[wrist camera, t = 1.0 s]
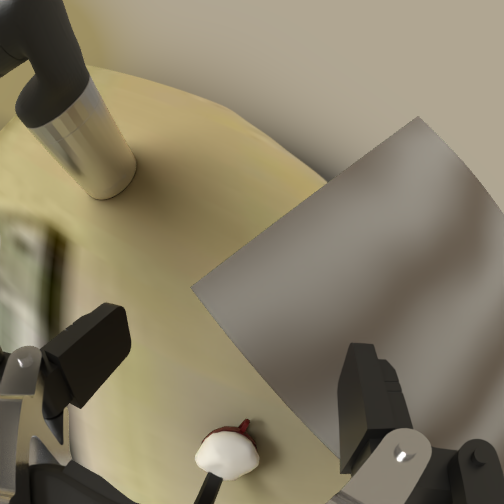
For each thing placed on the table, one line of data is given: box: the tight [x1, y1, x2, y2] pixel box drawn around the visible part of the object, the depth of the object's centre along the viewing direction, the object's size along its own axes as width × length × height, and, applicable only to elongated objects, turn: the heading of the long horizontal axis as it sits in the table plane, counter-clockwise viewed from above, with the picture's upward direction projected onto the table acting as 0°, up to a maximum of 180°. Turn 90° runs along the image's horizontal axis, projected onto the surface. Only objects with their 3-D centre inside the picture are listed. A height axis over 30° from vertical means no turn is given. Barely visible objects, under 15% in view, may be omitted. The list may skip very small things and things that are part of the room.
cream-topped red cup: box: [194, 419, 260, 504], centre depth 22 cm, size 10×6×12 cm, turn 130°
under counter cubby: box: [190, 117, 504, 474], centre depth 20 cm, size 23×15×23 cm, turn 39°
